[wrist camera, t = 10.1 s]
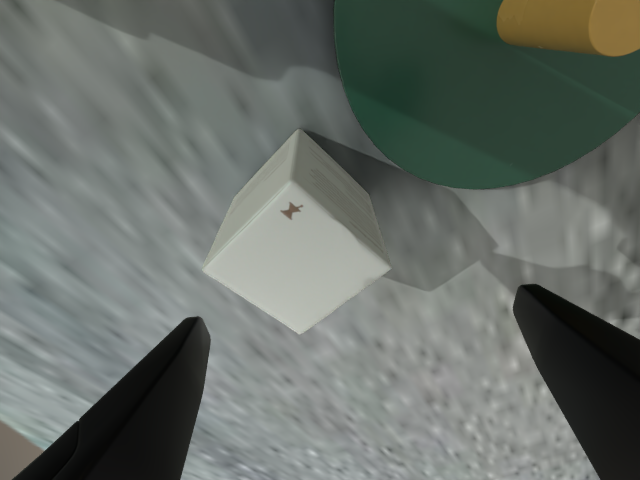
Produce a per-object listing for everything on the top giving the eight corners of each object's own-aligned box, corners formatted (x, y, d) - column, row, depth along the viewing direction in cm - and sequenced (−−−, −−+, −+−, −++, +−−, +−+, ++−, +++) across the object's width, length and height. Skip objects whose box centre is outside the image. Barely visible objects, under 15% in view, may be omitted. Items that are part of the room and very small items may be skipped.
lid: (345, 195, 20) (357, 267, 14) (310, -243, 11) (304, -539, 5) (628, 165, 20) (767, 228, 13) (833, -338, 11) (1528, -823, 4)
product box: (232, 195, 20) (195, 270, 14) (300, 123, 18) (291, 175, 12) (304, 253, 23) (299, 338, 17) (373, 196, 20) (396, 270, 14)
